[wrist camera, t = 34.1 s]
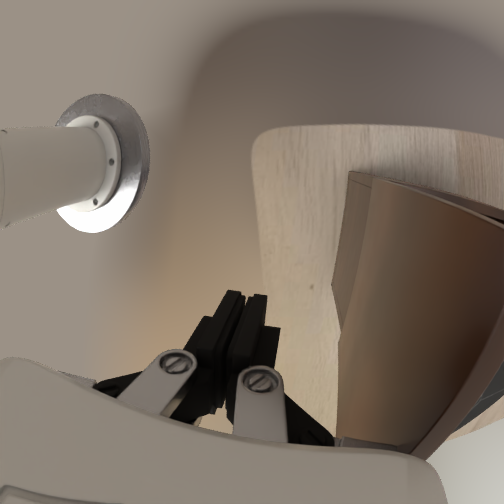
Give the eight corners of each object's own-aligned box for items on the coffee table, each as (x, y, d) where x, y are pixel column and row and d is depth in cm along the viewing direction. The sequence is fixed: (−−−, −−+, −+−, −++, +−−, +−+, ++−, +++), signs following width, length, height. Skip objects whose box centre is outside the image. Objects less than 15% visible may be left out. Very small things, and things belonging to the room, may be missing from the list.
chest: (457, 194, 24) (512, 213, 14) (432, 295, 28) (469, 343, 18) (348, 170, 26) (376, 177, 16) (331, 285, 30) (342, 340, 20)
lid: (549, 248, 2) (525, 240, 2) (342, 524, 6) (325, 523, 7) (384, 179, 15) (372, 177, 16) (347, 344, 20) (338, 343, 20)
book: (506, 332, 27) (514, 342, 25) (514, 371, 29) (520, 380, 26) (406, 409, 35) (410, 422, 32) (430, 433, 37) (433, 444, 34)
